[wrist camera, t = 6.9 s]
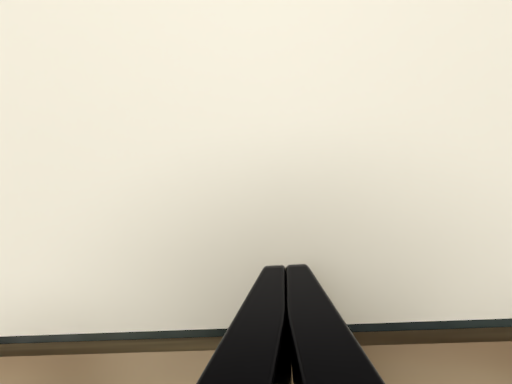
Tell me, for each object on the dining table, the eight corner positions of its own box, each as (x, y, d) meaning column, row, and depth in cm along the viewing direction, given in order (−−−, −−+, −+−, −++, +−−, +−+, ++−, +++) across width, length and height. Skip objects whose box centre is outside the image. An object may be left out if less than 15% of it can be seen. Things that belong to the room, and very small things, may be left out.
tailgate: (753, 318, 10) (817, -269, 8) (-89, 347, 12) (-191, -118, 10) (661, 281, 12) (695, -177, 10) (-25, 310, 14) (-98, -70, 12)
